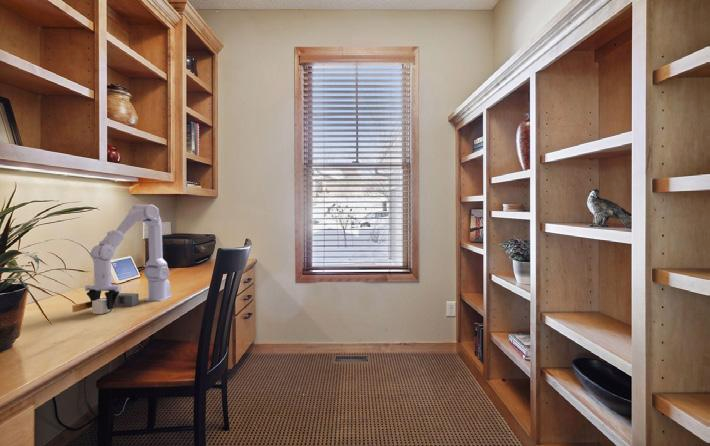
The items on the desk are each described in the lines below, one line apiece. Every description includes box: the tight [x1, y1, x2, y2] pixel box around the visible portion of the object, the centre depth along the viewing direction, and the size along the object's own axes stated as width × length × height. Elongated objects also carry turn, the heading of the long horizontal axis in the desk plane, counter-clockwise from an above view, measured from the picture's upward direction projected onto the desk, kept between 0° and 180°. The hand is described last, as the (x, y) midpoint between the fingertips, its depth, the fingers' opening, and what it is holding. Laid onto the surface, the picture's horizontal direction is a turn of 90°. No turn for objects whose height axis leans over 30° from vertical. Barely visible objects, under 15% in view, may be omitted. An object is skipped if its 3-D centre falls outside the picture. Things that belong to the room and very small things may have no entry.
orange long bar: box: [71, 296, 103, 313], centre depth 158 cm, size 12×1×4 cm, turn 165°
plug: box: [91, 297, 113, 315], centre depth 158 cm, size 7×4×5 cm, turn 172°
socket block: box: [114, 292, 140, 307], centre depth 167 cm, size 11×11×5 cm
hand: (103, 308), depth 158 cm, fingers open, 6 cm apart
